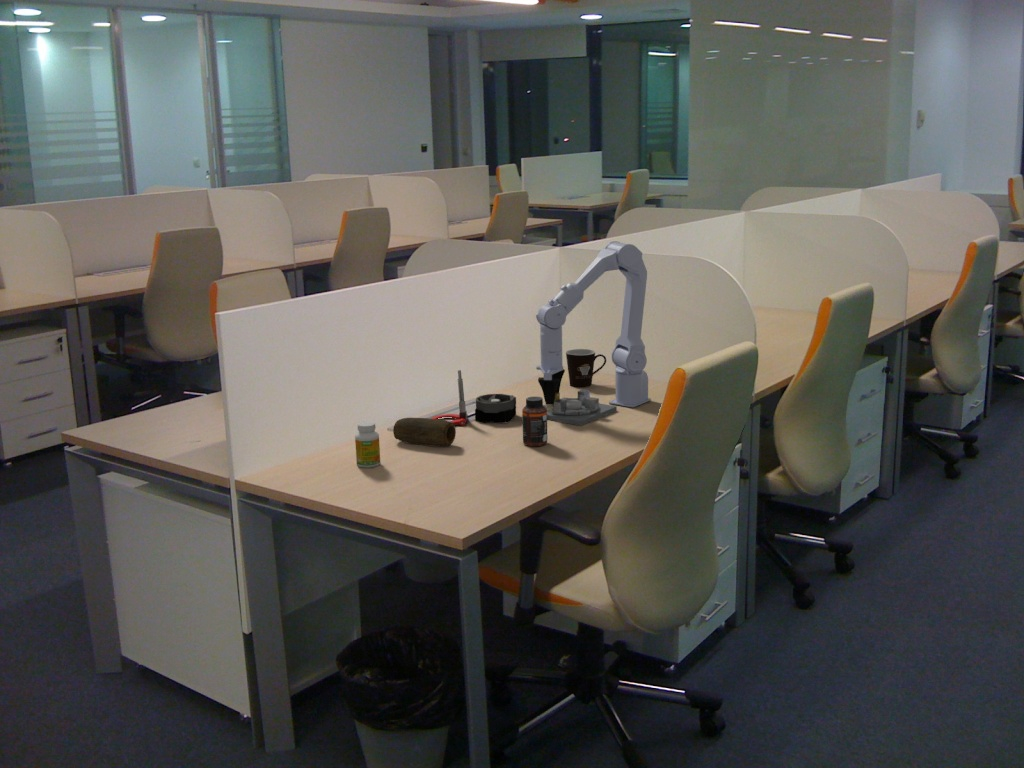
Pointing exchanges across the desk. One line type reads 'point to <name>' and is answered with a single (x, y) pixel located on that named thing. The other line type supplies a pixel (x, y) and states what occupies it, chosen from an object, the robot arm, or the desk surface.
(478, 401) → the cpu cooler
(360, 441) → the supplement bottle
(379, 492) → the desk surface
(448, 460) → the desk surface
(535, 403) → the supplement bottle
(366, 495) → the desk surface
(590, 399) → the ring nut
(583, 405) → the cap plate
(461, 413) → the tow hook
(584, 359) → the coffee mug
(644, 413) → the desk surface
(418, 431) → the brown hollow cylinder
